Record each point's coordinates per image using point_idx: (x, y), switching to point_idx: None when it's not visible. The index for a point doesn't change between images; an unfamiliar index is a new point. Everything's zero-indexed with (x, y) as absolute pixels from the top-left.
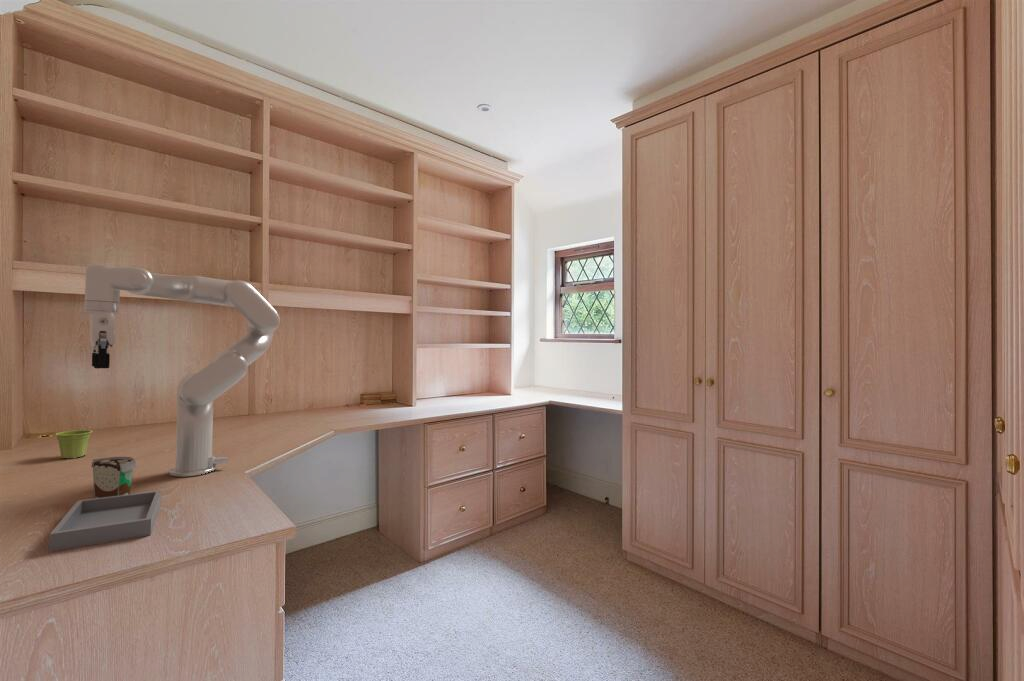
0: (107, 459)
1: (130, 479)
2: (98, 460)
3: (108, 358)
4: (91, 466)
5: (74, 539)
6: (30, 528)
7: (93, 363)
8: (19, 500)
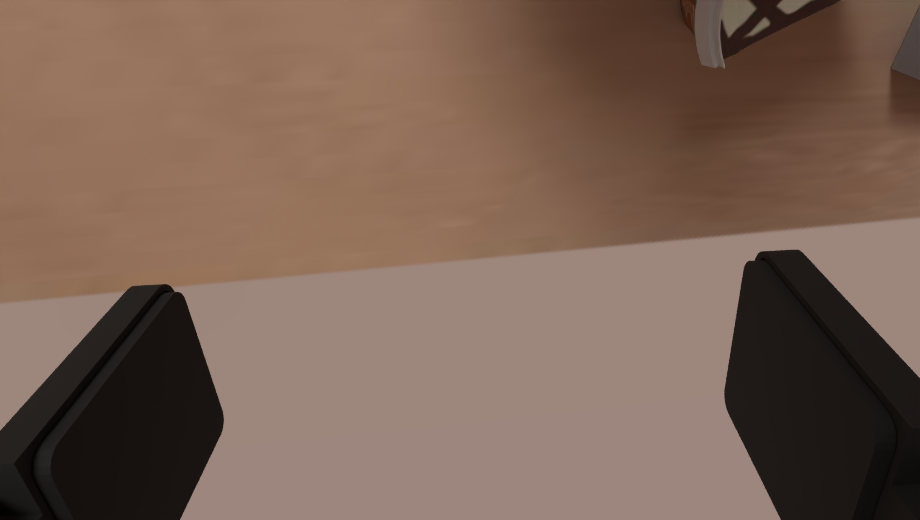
0: (720, 3)
1: None
2: (718, 43)
3: (887, 367)
4: (702, 64)
5: None
6: (915, 176)
7: (205, 445)
8: (543, 229)
